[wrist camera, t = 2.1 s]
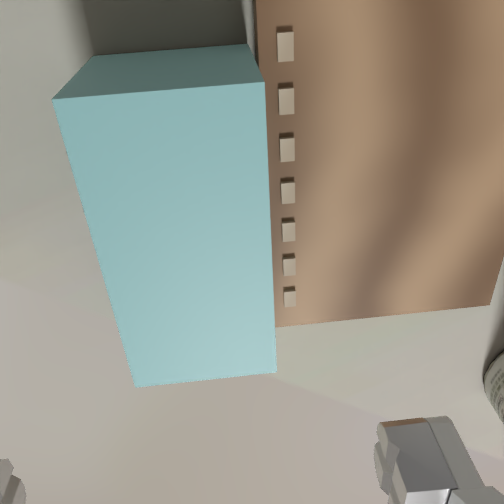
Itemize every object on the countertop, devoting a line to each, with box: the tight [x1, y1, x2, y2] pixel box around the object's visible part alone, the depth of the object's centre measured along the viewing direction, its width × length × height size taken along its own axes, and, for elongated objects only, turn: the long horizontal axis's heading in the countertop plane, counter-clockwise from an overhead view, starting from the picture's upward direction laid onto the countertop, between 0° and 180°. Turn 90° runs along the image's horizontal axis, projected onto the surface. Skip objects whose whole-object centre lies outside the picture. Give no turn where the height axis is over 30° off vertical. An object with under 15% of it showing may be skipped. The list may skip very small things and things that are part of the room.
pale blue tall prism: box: [52, 44, 277, 387], centre depth 19 cm, size 6×12×6 cm, turn 3°
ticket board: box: [253, 0, 504, 327], centre depth 22 cm, size 12×16×1 cm
